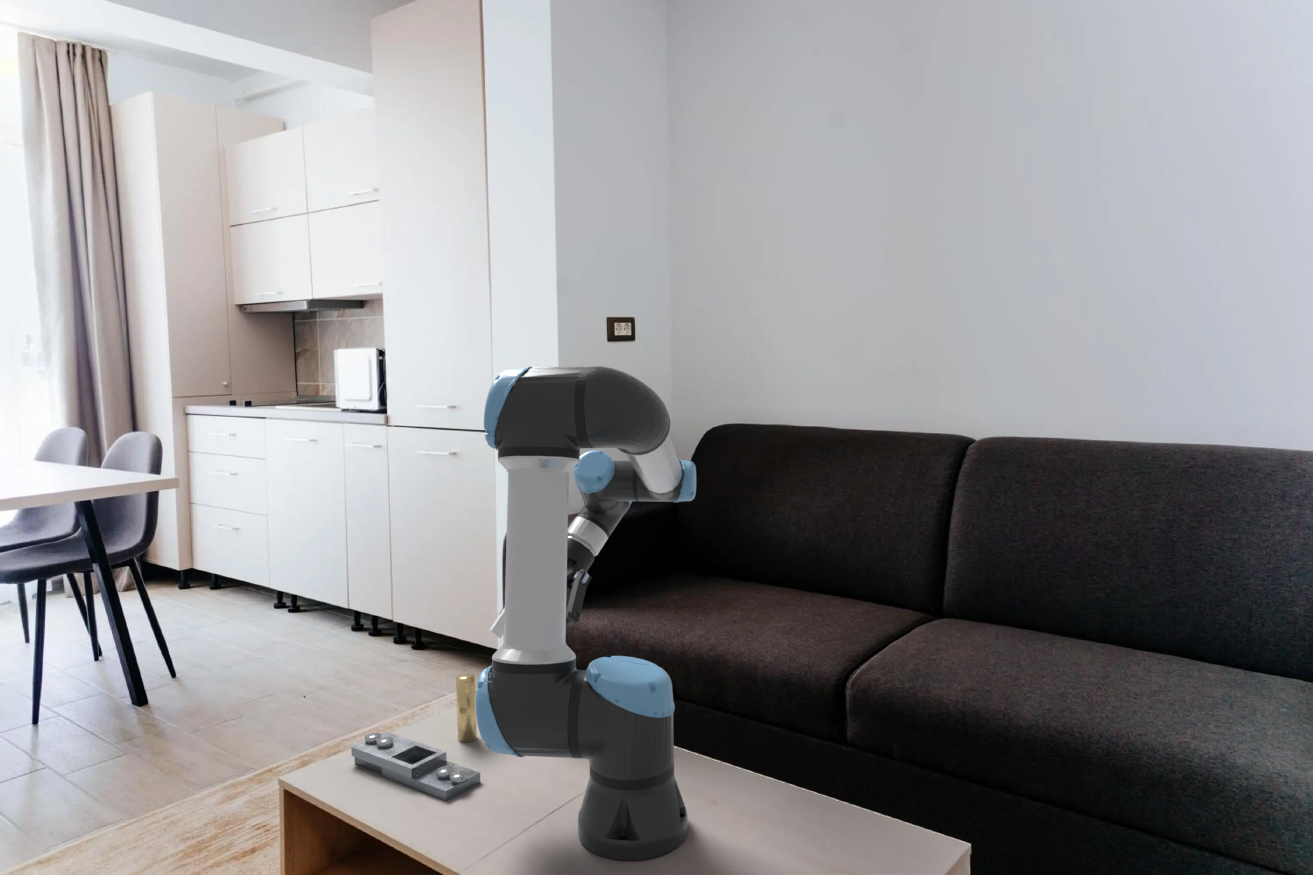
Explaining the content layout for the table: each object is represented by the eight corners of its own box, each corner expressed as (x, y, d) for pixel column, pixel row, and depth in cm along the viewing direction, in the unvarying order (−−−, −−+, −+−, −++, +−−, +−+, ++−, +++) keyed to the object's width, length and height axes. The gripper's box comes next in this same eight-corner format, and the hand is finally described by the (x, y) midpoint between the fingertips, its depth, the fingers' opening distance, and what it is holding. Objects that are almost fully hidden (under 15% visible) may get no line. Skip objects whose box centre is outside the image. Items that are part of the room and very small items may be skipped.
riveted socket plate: (481, 782, 136) (481, 758, 135) (447, 801, 130) (446, 776, 130) (386, 748, 148) (385, 726, 148) (350, 764, 143) (349, 741, 142)
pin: (479, 739, 151) (478, 677, 150) (462, 744, 150) (460, 681, 149) (472, 733, 154) (470, 672, 153) (455, 737, 152) (452, 676, 151)
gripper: (634, 568, 160) (571, 669, 151) (551, 549, 178) (490, 638, 169) (611, 544, 156) (545, 646, 147) (529, 526, 174) (465, 616, 165)
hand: (515, 642), depth 158 cm, fingers open, 13 cm apart
